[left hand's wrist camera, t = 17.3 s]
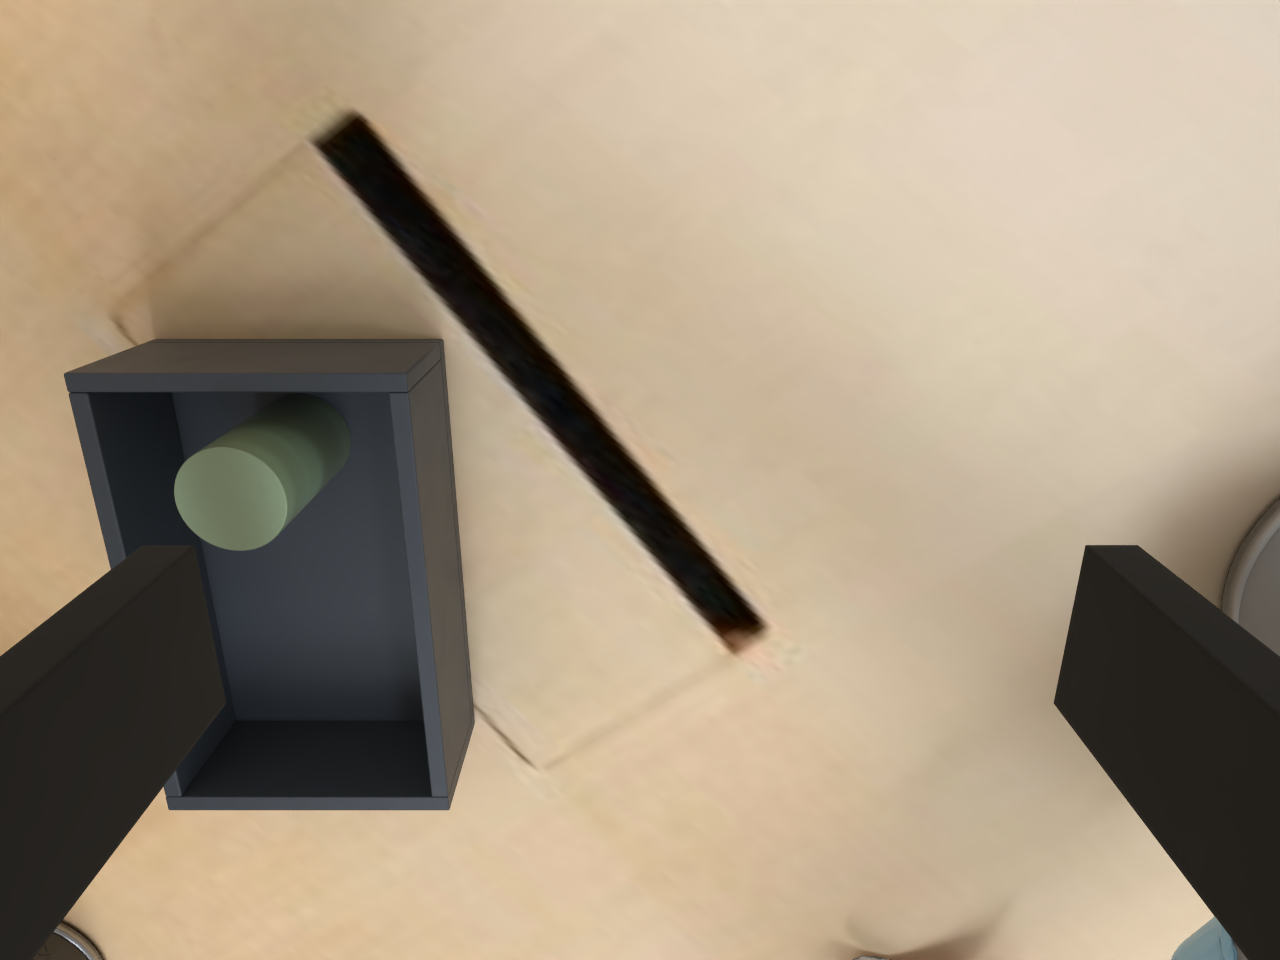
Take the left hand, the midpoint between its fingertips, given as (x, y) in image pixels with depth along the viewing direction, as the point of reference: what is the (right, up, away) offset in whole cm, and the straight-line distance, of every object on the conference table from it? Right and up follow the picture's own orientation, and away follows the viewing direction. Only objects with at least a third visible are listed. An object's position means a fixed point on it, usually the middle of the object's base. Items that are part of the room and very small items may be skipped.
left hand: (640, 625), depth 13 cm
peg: (-16, +4, +28) cm, 33 cm away
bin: (-16, -1, +31) cm, 35 cm away
